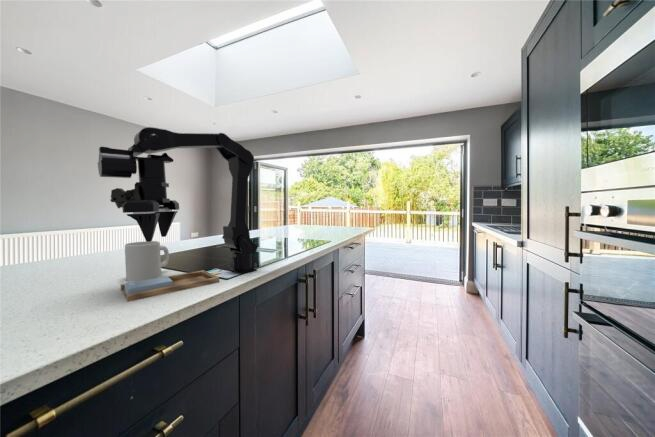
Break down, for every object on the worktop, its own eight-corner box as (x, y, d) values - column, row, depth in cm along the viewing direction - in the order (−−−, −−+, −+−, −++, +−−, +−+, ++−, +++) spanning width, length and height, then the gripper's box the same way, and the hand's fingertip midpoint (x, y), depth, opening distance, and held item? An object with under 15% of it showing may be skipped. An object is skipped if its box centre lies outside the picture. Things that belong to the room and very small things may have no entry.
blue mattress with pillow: (166, 283, 70) (166, 274, 70) (172, 288, 65) (172, 278, 65) (124, 291, 63) (124, 281, 63) (128, 297, 59) (127, 286, 59)
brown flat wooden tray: (203, 276, 79) (203, 270, 79) (219, 284, 71) (219, 277, 71) (120, 292, 65) (120, 284, 65) (127, 305, 57) (127, 296, 57)
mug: (139, 285, 71) (137, 245, 70) (119, 282, 74) (117, 244, 73) (178, 274, 82) (177, 240, 81) (159, 272, 85) (158, 239, 84)
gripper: (135, 182, 74) (139, 236, 75) (91, 175, 56) (98, 246, 57) (178, 181, 76) (181, 234, 77) (149, 175, 58) (154, 243, 59)
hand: (156, 238), depth 67 cm, fingers open, 9 cm apart
